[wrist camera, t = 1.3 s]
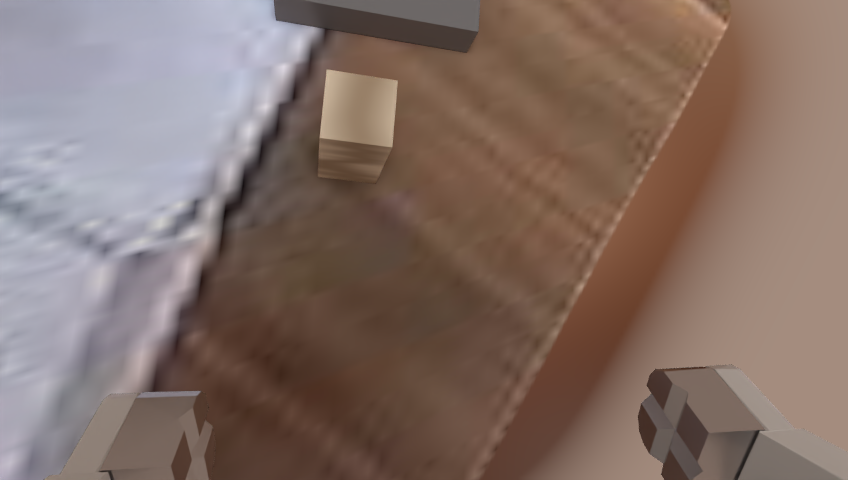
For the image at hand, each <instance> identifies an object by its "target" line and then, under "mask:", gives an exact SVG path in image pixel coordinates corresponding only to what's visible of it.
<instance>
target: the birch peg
mask: <svg viewBox="0 0 848 480" xmlns="http://www.w3.org/2000/svg"><path fill="white" fill-rule="evenodd" d="M397 83H398V81H397V80H391V79H384V78H378V77H372V76H365V75H359V74H352V73H346V72H340V71H333V70H327V73H326V82H325V92H324V101H323V111H322V121H321V130H320V142H319V162H318V177H324V178H332V179H340V180H349V181H357V182H365V183H374V184H376V182H377V180H378V177H379V175H380V173H381V171H382V169H383V166H384V164H385V162H386V160H387V158H388V156H389V153H390V151H391V149H392V144H393V132H394V120H395V107H396V95H397Z"/></svg>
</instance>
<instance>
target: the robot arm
mask: <svg viewBox="0 0 848 480" xmlns="http://www.w3.org/2000/svg"><path fill="white" fill-rule="evenodd" d="M647 387H648V388H649V390H650V392H651V393H652V394H651V395H650V396H649V397H648V398H647V399H645V400H644V401H643V402H642V403H641V407H640V411H639V415H638V421H639V432H640V434H641V438H642V440H643V443H644V445H645V447H646V449H647V450H648V452H649V454H650V455H652V456H653V457H655V458H656V459H658V460H659V461H660V462H662V463H663V468H662V473H661V475H662V476H663V478H664V480H848V452H847V451H845V450H843V449H841V448H839V447H837V446H835V445H833V444H831V443H830V442H828V441H826V440H824V439H822V438H820V437H818V436H816V435H814V434H813V433H811V432H809V431H807V430H805V429H795V428H794V427H793V426H792V425H791V424H790V423H789V422H788V420H787V419H786V418H785V417H784V416H783V415H782V414H781V413H780V412H779V411H778V410H777V409H776V407H775V406H773V404H772V403H771V402H770V401H769V400H768V399H767V398H766V397H765V395H764V394H763V393H762V392H761V391H760V390H759V389H758V388H757V387H756V386H755V385H754V384H753V383H752V381H751V380H750V379H749V378H748V377H747V376H746V375H745V374H744V373H743V372H742V371H741V369H739V368H738V367H736V366H734V365H716V366H706V367H686V368H669V369H655V370H654V371H653V372H652V373H651V374H650V376H649V380H648V383H647ZM208 409H209V405H208V401H207V397H206V393H204V392H202V391H183V392H142V393H129V394H110V395H109V396H108V397H106V398H105V399H104V400H103V401H102V403H101V404H100V406H99V408H98V409H97V411H96V413H95V415H94V416H93V418H92V420H91V422H90V423H89V425H88V427H87V428H86V430H85V432H84V434H83V435H82V437H81V439H80V440H79V442H78V444H77V446H76V447H75V449H74V451H73V453H72V454H71V456H70V458H69V459H68V461H67V463H66V465H65V466H64V468H63V470H62V472H61V473H60V475H50V476H48V477H47V478H45V479H44V480H210V479H211V475H212V472H213V468H214V459H215V451H216V449H215V434H214V429H213V426H212V425H211V424H209V423H208V422H207V421H206V420H205V419H206V416H207V413H208Z"/></svg>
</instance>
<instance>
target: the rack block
mask: <svg viewBox="0 0 848 480" xmlns="http://www.w3.org/2000/svg"><path fill="white" fill-rule="evenodd" d="M274 6H275V15H276V20H279V21H285V22H291V23H297V24H303V25H308V26H314V27H320V28H326V29H332V30H338V31H343V32H349V33H355V34H361V35H367V36H373V37H378V38H384V39H390V40H396V41H402V42H408V43H413V44H419V45H425V46H431V47H437V48H443V49H448V50H454V51H460V52H467V51H468V49H469V47H470V45H471V44H472V42H473V40H474V38H475V37H476V35H477V33H478V29H479V10H480V0H274Z"/></svg>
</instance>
